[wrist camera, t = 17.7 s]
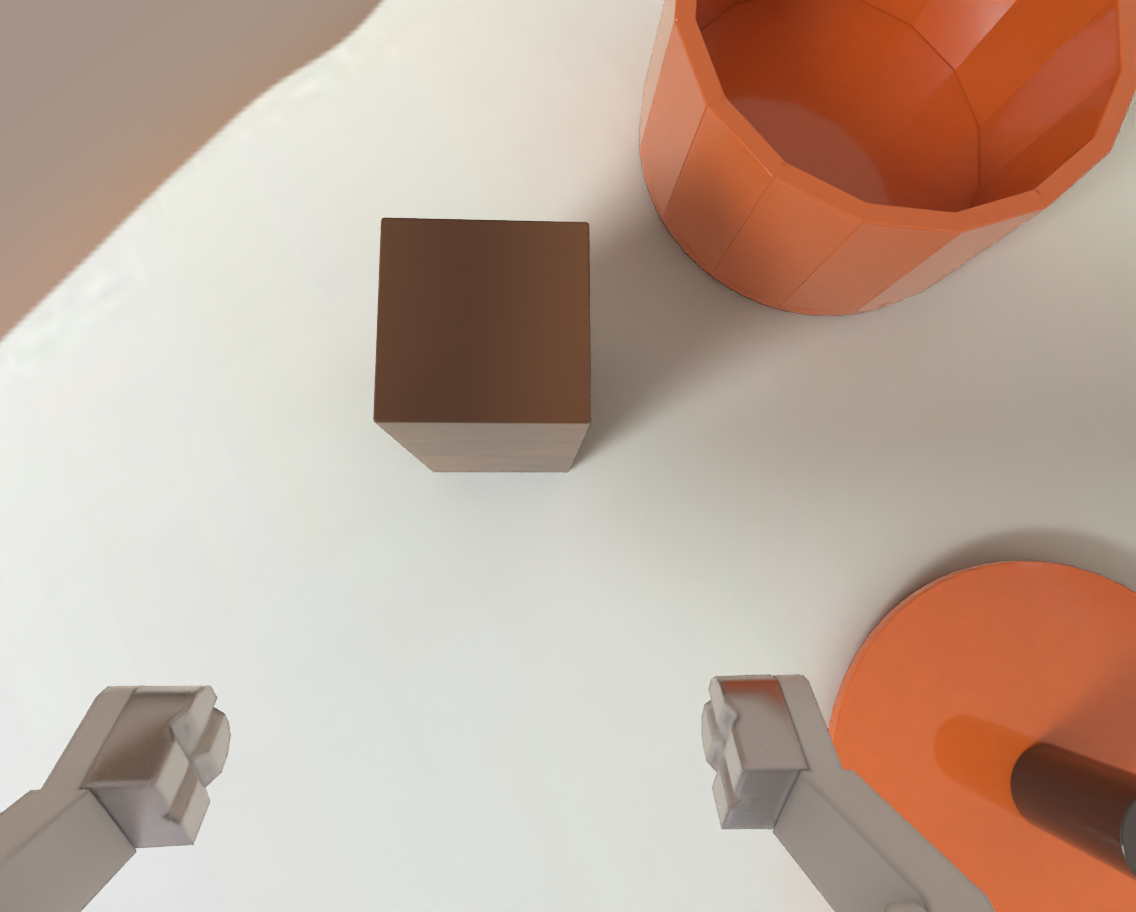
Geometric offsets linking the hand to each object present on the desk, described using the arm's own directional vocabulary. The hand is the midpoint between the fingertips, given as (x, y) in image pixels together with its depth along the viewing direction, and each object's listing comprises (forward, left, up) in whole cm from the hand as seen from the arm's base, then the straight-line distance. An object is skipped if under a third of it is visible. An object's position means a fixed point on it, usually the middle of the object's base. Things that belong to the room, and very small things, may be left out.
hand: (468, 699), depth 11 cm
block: (-2, -7, -11) cm, 13 cm away
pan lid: (-15, +10, -10) cm, 21 cm away
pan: (-16, -13, -11) cm, 24 cm away
